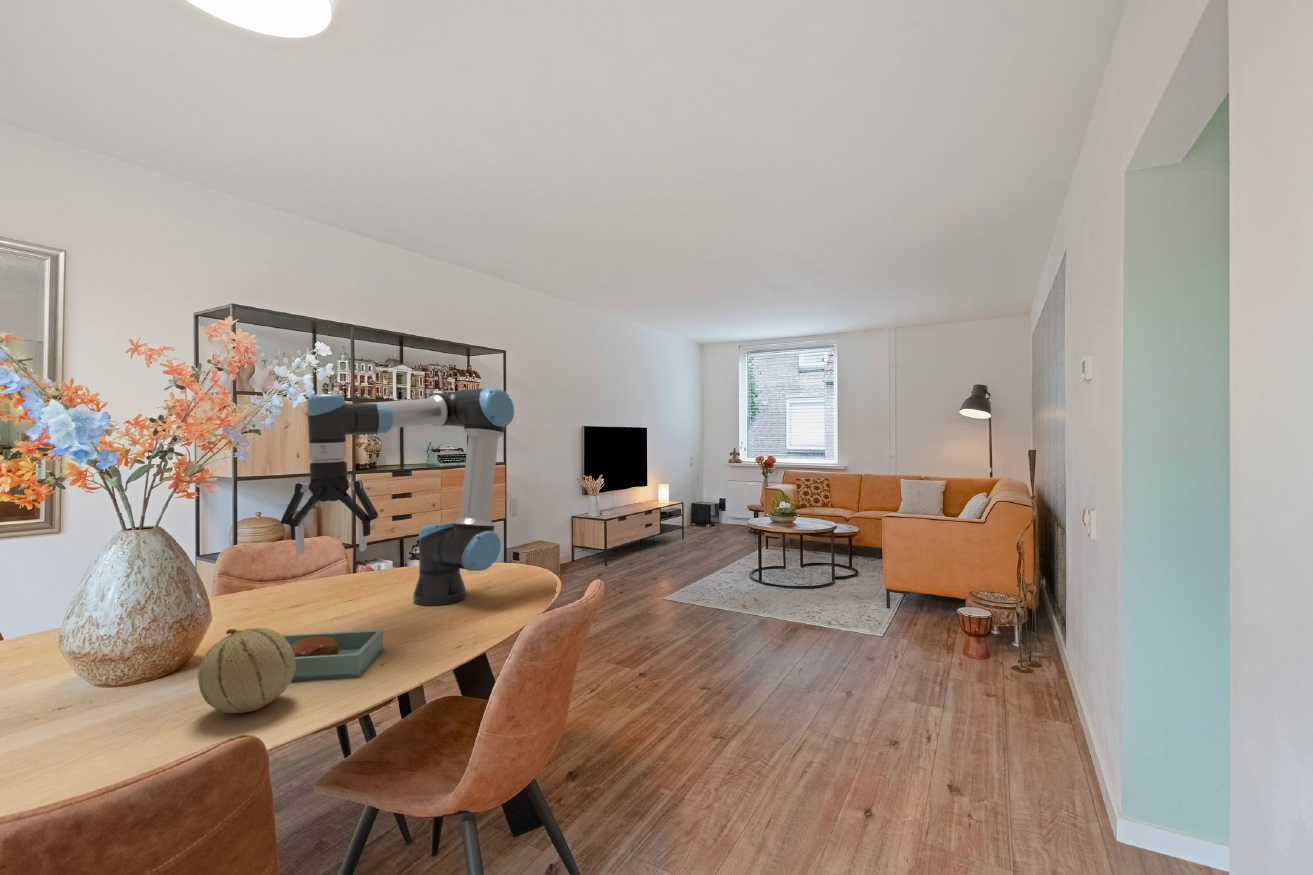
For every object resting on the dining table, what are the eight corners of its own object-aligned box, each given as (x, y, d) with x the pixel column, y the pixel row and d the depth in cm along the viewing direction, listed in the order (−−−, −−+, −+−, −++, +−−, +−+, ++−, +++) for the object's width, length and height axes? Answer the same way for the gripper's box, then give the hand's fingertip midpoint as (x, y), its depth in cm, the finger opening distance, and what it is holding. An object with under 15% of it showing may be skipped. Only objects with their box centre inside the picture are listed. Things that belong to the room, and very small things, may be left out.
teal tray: (272, 655, 135) (272, 635, 135) (383, 648, 138) (383, 629, 138) (232, 684, 119) (232, 662, 119) (358, 676, 122) (358, 655, 122)
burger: (315, 650, 135) (314, 630, 135) (348, 655, 132) (348, 634, 132) (276, 667, 125) (276, 645, 125) (311, 672, 123) (311, 650, 123)
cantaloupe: (297, 714, 106) (296, 630, 106) (193, 737, 98) (192, 647, 98) (294, 685, 118) (294, 610, 118) (202, 703, 110) (202, 623, 110)
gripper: (261, 464, 131) (265, 558, 132) (380, 460, 135) (384, 551, 136) (277, 461, 138) (281, 551, 139) (389, 458, 143) (393, 545, 143)
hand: (332, 551), depth 137 cm, fingers open, 13 cm apart
